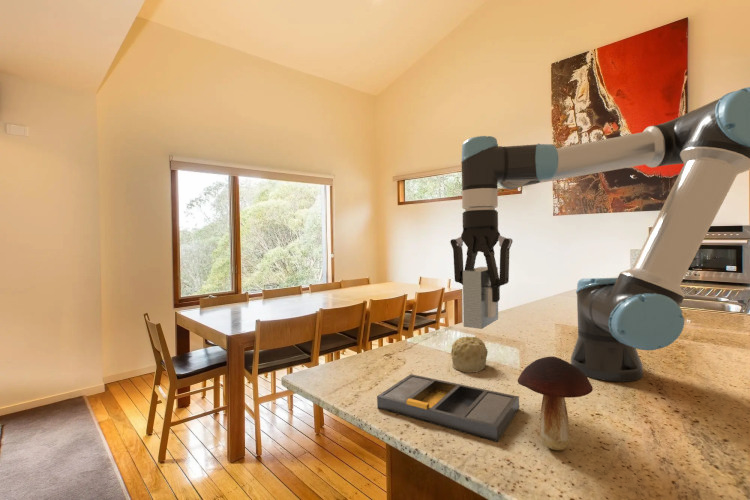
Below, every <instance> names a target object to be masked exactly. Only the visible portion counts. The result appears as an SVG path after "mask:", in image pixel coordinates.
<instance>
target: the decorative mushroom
mask: <svg viewBox="0 0 750 500" xmlns="http://www.w3.org/2000/svg"><path fill="white" fill-rule="evenodd" d="M588 378H589V377H588V376H586V375H585V374H584V373H583V372H582V371H581V370H579V369H578V368H577V367H575V366H574V365H572V364H571V362H569V361H567V360H564V359H562V358H559V357H555V356H544V357H541V358H540V357H539V358H538V359H536V360H534V361H533V362H531V363H530V364H528V365H527V366H525V368H524V369H523V370H522V371H521V373H520V375H519V377H518V378H517V383H518V385H520V386H522V387H525V388H527V389H529V390H530V391H533V392H535V393H537V394H539V395H540V394H541V395H542V401H541V407H540V436H541V440H542V443H543V444H544V445H545V446H546V447H547V448H549V449H550V450H553V451H562V450H565V449H566V448H567V447H568V446H569V442H570V422H569V416H568V414H569V413H568V409H567V405H566V404H567V403H566V399H565V398H571V399H572V398H580V397H584V396H587V395H589V394H590V393H592V392H593V389H594V388H593V385H592V384H591V382H590V380H589V379H588Z"/></svg>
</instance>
